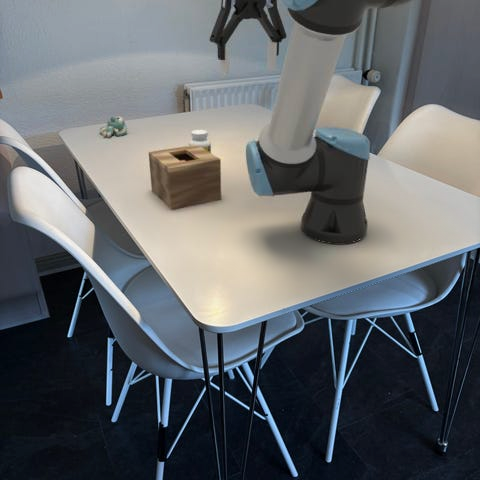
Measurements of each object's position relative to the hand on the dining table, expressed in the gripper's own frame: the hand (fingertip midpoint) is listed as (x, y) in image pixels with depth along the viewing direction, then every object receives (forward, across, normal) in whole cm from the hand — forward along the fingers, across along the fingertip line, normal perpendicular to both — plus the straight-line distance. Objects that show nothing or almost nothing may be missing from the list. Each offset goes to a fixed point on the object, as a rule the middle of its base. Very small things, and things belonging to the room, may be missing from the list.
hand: (248, 72), depth 122 cm
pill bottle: (+31, +3, -21) cm, 38 cm away
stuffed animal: (+31, +13, -71) cm, 79 cm away
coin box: (+31, +16, -6) cm, 35 cm away
